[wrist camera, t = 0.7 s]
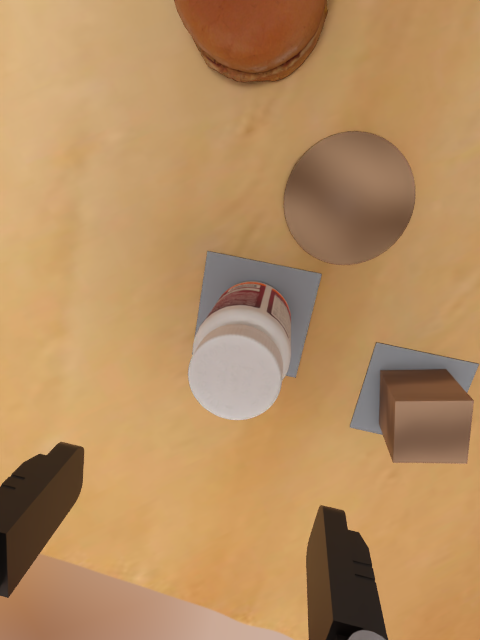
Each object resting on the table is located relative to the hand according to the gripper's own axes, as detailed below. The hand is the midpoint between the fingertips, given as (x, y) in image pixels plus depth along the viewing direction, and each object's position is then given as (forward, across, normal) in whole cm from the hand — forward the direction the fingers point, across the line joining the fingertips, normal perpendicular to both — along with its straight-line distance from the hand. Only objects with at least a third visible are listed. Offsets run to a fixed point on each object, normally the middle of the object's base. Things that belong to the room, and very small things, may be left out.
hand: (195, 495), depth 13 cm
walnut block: (+20, -14, +4) cm, 25 cm away
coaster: (+20, -5, -10) cm, 23 cm away
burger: (+20, +4, -21) cm, 29 cm away
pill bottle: (+20, 0, 0) cm, 20 cm away
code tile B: (+20, -14, +4) cm, 25 cm away
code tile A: (+20, 0, 0) cm, 20 cm away
